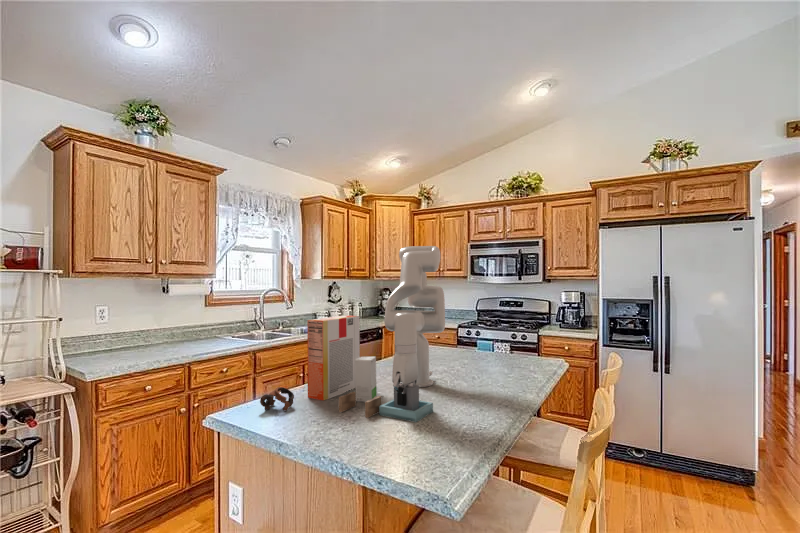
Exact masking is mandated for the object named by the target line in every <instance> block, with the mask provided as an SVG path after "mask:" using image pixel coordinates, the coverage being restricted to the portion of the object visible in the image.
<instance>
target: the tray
mask: <svg viewBox="0 0 800 533" xmlns="http://www.w3.org/2000/svg"><path fill="white" fill-rule="evenodd" d="M433 412H434V402H430V401H424V400H419V409H417V410H415V411H411V410H406V409H400V408H395V407H394V398H393V399H391V400H389V401H387V402H385V403H382V405H381V406H379V416H380V417H381V416H382V417H388V418H392V419H398V420H402V421H408V422H413V423H417V422H419V421H420V420H422V419H423V418H425V417H427V416H428V415H430V414H432V413H433Z"/></svg>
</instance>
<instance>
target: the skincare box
mask: <svg viewBox="0 0 800 533" xmlns="http://www.w3.org/2000/svg"><path fill="white" fill-rule="evenodd" d="M376 357H377V356H360V357H359V358H357V359H356V360H355V377H356V388H355V392H356V402H359V403H361V402H362V403H365V402H366V401H368V400H370V399H373V398H375V397H377V396H378V395H377V394H378V392H377V390H378V389H377V388H378V387H377V358H376Z"/></svg>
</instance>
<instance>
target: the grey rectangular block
mask: <svg viewBox="0 0 800 533" xmlns="http://www.w3.org/2000/svg"><path fill="white" fill-rule="evenodd" d="M400 384H402V382H400ZM400 387H401V388H403V386H400ZM405 394H406V406H401V405H398V404H397V393H396V390H395V388H394V387H393V399H394V407H395V408H400V409H406V410H411V411H415V410H417V409H419V401H420V387H419V385H414V384H413V383H409V384H406V389H405Z"/></svg>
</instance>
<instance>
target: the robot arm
mask: <svg viewBox="0 0 800 533" xmlns="http://www.w3.org/2000/svg"><path fill="white" fill-rule="evenodd" d="M398 255H399V260H400V263H401V265H400V276H399V285H398V286H397V287H396V288H395V289H394V290H393V291H392V293H390V295H389V297H388V298H387V300H386V303H385V312H384V326H385V329H387V331H390V332H394V355H393V361H392V374H391V375H392V376H391V377H392V378H391V379H392V387H393V389H394V388H395V390H396V393H397V404H398V405H401V406H406V394H405V389H406V384H409V383H413V384H414V385H419V388H426V387H431V386H432V385H433V384H434V381H433V380H432V379H430V376H433V371H432V370H430V344H429V341H428V339H427V337H426V336H425V335H424V334H439V333H443V332H444V331H445V328H446V306H445V305H446V304H445V292H444V289H443V287H441V286H440V285H439V286H438V285H428V283H427V282H428V280H427V279H428V278H427V276H428V275H427V273H435V272H437V271H438V270H439V268H440V267H439V266H440V264H441V251H440V248H439V247H438V246H436V245H414V246H412V245H411V246H405V247H402V248H401V249H400V250H399V254H398ZM404 299H407V301H408V302H407V303H408V305H409V306H410V307H411V308H417V309H418V308H419V309H421V308H422V309H423V308H425V309H427V308H428V309H433V310H406V309H402V310H400V309H398V310H397V309H395V308H396V305H398V303H400V302H401V301H403V300H404ZM400 383H402V384H400ZM400 386H403V388H401V387H400Z"/></svg>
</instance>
